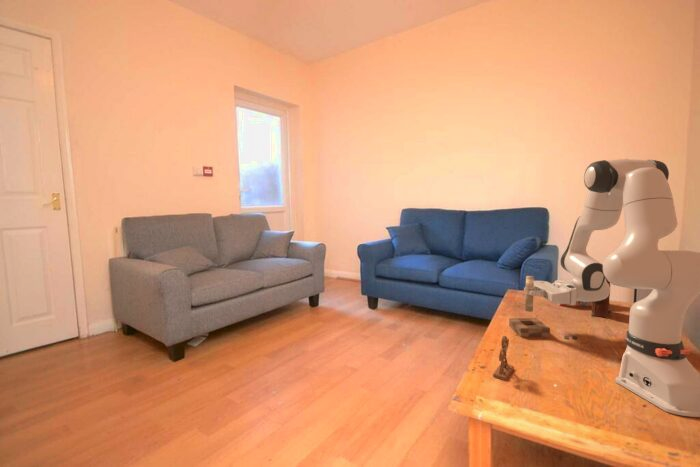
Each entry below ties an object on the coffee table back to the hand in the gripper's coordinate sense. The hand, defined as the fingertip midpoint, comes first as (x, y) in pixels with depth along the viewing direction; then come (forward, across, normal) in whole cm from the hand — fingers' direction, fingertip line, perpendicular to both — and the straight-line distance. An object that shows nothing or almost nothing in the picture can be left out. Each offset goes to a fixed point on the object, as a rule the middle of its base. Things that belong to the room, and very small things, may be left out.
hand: (527, 291), depth 134 cm
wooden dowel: (-1, 0, +8) cm, 8 cm away
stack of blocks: (-41, -34, +18) cm, 56 cm away
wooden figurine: (-42, -20, +17) cm, 49 cm away
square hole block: (-1, 0, +17) cm, 17 cm away
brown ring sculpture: (+22, +33, +17) cm, 42 cm away
